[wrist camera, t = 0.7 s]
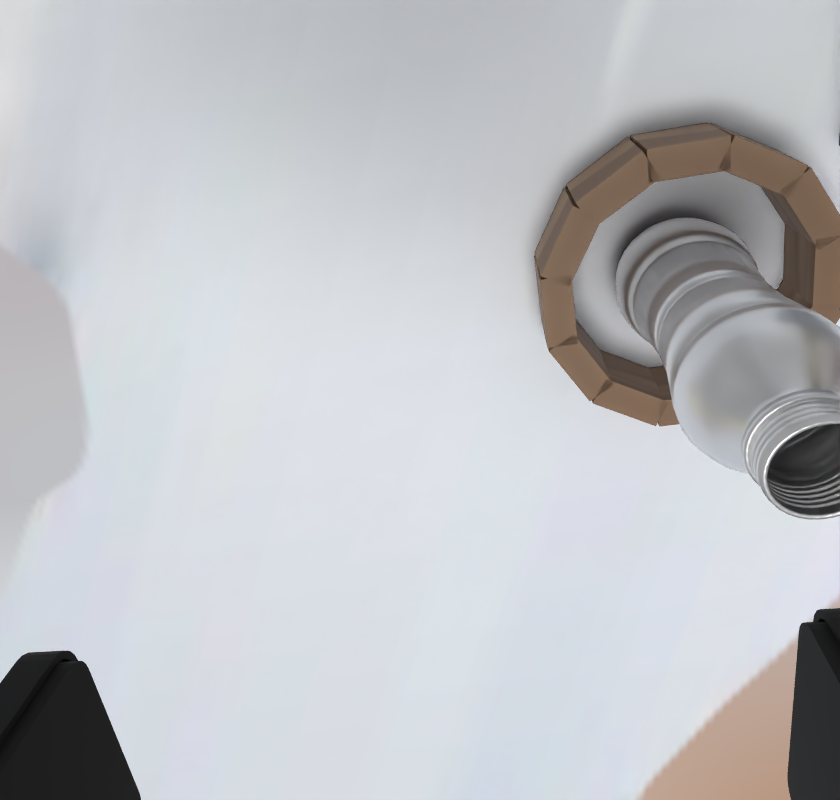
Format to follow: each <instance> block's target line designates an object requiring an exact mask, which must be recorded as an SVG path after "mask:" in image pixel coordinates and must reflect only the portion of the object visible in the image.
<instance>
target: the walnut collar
mask: <svg viewBox="0 0 840 800" xmlns="http://www.w3.org/2000/svg"><path fill="white" fill-rule="evenodd" d="M721 171H725V172H728V173H730V174H733V175H735V176H738V177H740V178H743V179H745V180H748V181H750V182H753V183H755V184H757V185H760V186H761V187H762V189H763V190H764V192H765V193H766V195H767V196H768V198H769V200H770V201H771V203H772V204H773V206H774V207H775V209H776V210H777V212H778V214H779V215H780V217H781V218H782V220H783V221H784V223H785V244H784V275H783V281H782V283H781V285H780V286H779V288H778V289H777V291H778V292H780V293H781V294H782V295H784V296H785V297H787V298H789V299H791V300H793V301H795V302H797V303H799V304H801V305H803V306H805V307H807V308H809V309H811V310H813V311H815V312H817V313H819V314H820V315H822V316H824V317H825V318H827V319H829V320H830V321H831V322H833V323H834V324H836V323H837V321H838V320H839V318H840V214H839V213H838V211H837V209H836V208H835V206H834V204H833V203H832V201H831V200H830V198H829V196H828V195H827V193H826V191H825V190H824V188H823V186H822V185H821V183H820V182H819V180H818V178H817V177H816V175H815V173H814V172H813V170H812V168H810V167H808V165H806V164H804V163H802V162H800V161H798V160H796V159H794V158H792V157H790V156H788V155H786V154H784V153H782V152H780V151H778V150H775V149H773V148H770V147H768V146H766V145H763V144H761V143H758V142H756V141H753V140H751V139H748V138H746V137H744V136H741V135H739V134H736V133H734V132H731V131H729V130H726V129H724V128H722V127H719V126H717V125H714V124H712V123H711V124H708V123H702V124H696V125H690V126H684V127H678V128H672V129H666V130H660V131H654V132H648V133H642V134H636V135H631V140H630V139H628V138H625V139H624V140H623V141H621V142H620V143H619V144H618V145H616V146H615V147H614V148H612V149H611V150H610V151H609V152H607V153H606V154H605V155H603V156H602V157H601V158H600V159H598V160H597V161H596V162H594V163H593V164H592V165H591V166H589V167H588V168H587V169H585V170H584V171H583V172H582V173H580V174H579V175H578V176H576V177H575V178H574V179H573V180H571V181H570V182H569V183H567V184H566V185H567V187H568V189H566V188H563V190H562V193H561V195H560V197H559V199H558V202H557V204H556V206H555V208H554V211H553V213H552V215H551V217H550V219H549V222H548V224H547V226H546V228H545V231H544V233H543V235H542V237H541V240H540V242H539V244H538V246H537V249H536V251H535V255H536V256H534V258H535V267H536V276H537V285H538V294H539V303H540V311H541V320H542V324H543V329H544V334H545V338H546V343H547V348H548V349H549V352H550V353H551V354H552V356H553V357H554V358H555V359H556V360H557V362H558V363H559V364H560V365H561V367H562V368H563V369H564V370H565V371H566V373H567V374H568V375H569V376H570V378H571V379H572V380H573V381H574V382H575V384H576V385H577V386H578V387H579V389H580V390H581V391H582V392H583V393H584V395H585V396H586V397H587V398H588V400H589V401H591V400H592V402H593V404H596V405H599V406H602V407H604V408H607V409H610V410H613V411H616V412H618V413H621V414H624V415H627V416H629V417H632V418H635V419H638V420H640V421H643V422H646V423H649V424H651V425H654V426H656V425H657V423H658V424H659V426H667V425H676V424H679V421H678V419H677V416H676V413H675V410H674V408H673V403H672V398H671V392H670V387H669V382H668V377H667V372H666V369H665V367H664V366H661V367H653V368H647V367H645V366H642V365H639V364H636V363H634V362H631V361H628V360H626V359H623V358H620V357H618V356H615V355H612V354H609V353H607V352H604V351H601V350H599V348H598V347H597V346H596V344H595V343H594V342H593V341H592V339H591V338H590V337H589V336H588V334H587V333H586V332H585V331H584V329H583V328H582V327H581V325H580V324H579V323H578V322H577V320H576V319H575V310H574V299H573V288H572V280H573V278H574V276H575V274H576V272H577V270H578V267H579V265H580V263H581V261H582V259H583V257H584V255H585V253H586V251H587V249H588V247H589V244H590V242H591V240H592V238H593V236H594V234H595V232H596V230H597V228H598V226H599V224H600V223H601V222H602V221H604V220H605V219H606V218H608V217H609V216H610V215H612V214H613V213H614V212H616V211H617V210H618V209H620V208H621V207H622V206H624V205H625V204H626V203H628V202H629V201H630V200H632V199H633V198H634V197H636V196H637V195H638V194H640V193H641V192H643V191H644V190H645V189H647V188H648V187H649V186H651V185H652V184H653V183H655V182H658V181H664V180H671V179H677V178H683V177H689V176H696V175H702V174H708V173H714V172H721Z"/></svg>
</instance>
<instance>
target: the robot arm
mask: <svg viewBox="0 0 840 800" xmlns="http://www.w3.org/2000/svg"><path fill="white" fill-rule="evenodd" d="M788 787H789V793H790V797H791V800H840V608H837V609H820V610H817V611H816V613H815V615H814V620H813V622H806V623H802V624H801V625H800V629H799V638H798V650H797V663H796V676H795V688H794V701H793V714H792V726H791V739H790V751H789V764H788ZM0 800H141V797H140V794H139V791H138V788H137V786H136V783H135V781H134V779H133V776H132V774H131V771H130V769H129V766H128V764H127V761H126V759H125V757H124V754H123V752H122V749H121V747H120V744H119V742H118V739H117V737H116V735H115V732H114V730H113V727H112V725H111V722H110V720H109V717H108V715H107V712H106V710H105V708H104V705H103V703H102V700H101V698H100V695H99V693H98V690H97V688H96V686H95V683H94V681H93V678H92V676H91V673H90V671H89V668H88V667H87V665H86V664H85V663H84V662H83V661H78V660H77V658H76V656H75V655H74V654H73V653H72V652H70V651H51V652H32V653H27V654H25V655H22V656H21V657H20V658H19V659H18V660H17V662H16V663H15V664H14V666H13V667H12V668H11V670H10V671H9V672H8V674H7V675H6V676H5V678H4V679H3V680H2V682H1V683H0Z"/></svg>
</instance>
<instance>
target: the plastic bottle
mask: <svg viewBox="0 0 840 800" xmlns="http://www.w3.org/2000/svg"><path fill="white" fill-rule="evenodd" d="M616 297H617V302H618V306H619V308H620V311H621V313H622V315H623V317H624V318H625V320H626V321H627V322H628V324H629V325H630V326H631V327H632V328H633V329H634V330H635V331H636V332H637V333H638V334H639V335H640V336H642V337H643V338H644V339H645V340H646V341H648V342H649V343H650V344H651V345H652V346H653V347H654V348H655V350H656V351H657V352H658V353H659V355H660V357H661V360H662V362H663V365H664V367H665V369H666V372H667V377H668V382H669V387H670V392H671V398H672V403H673V408H674V410H675V413H676V416H677V419H678V421H679V424H680V426H681V428H682V431H683V432H684V434H685V435H686V436H687V438H688V439H689V440H690V442H691V443H692V444H693V445H694V446H696V447H697V448H698V449H699V450H700V451H701V452H703V453H704V454H705V455H707V456H708V457H710V458H711V459H713V460H714V461H716V462H718V463H720V464H721V465H723V466H725V467H727V468H730V469H733V470H736V471H739V472H742V473H749V474H750V476H751V477H752V478H753V480H754V481H755V482H756V483H757V484H758V485H759V486H760V487H761V489H762V491H763V493H764V494H765V496H766V497H767V498H768V500H769V501H770V502H771V503H772V504H773V505H775V506H776V507H777V508H778V509H779V510H781V511H783V512H785V513H787V514H789V515H792V516H795V517H798V518H804V519H827V518H833V517H837V516H840V327H839V326H837V325H836V324H834V323H833V322H831V321H830V320H829V319H827V318H825V317H824V316H822V315H820V314H819V313H817V312H815V311H813V310H811V309H809V308H807V307H805V306H803V305H801V304H799V303H797V302H795V301H793V300H791V299H789V298H787V297H785V296H784V295H782V294H781V293H780V292H778V291H777V290H776V289H774V288H772V287H771V286H770V285H769V284H768V283H767V282H766V281H765V280H764V278H763V277H762V275H761V274H760V273H759V271H758V268H757V265H756V262H755V260H754V259H753V257H752V255H751V253H750V252H749V250H748V249H747V247H746V245H745V244H744V242H743V241H742V240H741V239H740V238H739V237H738V236H737V235H736V234H735V233H734V232H732V231H730V230H729V229H727V228H725V227H724V226H721V225H718V224H716V223H713V222H710V221H706V220H703V219H697V218H690V217H687V218H674V219H670V220H665V221H662V222H660V223H658V224H655V225H653V226H651V227H649V228H648V229H646V230H645V231H643V232H642V233H640V234H639V235H638V236H637V237H636V238H635V239H634V240H633V241H632V242H631V243H630V244H629V246H628V247H627V248H626V250H625V251H624V253H623V255H622V257H621V259H620V261H619V264H618V268H617V272H616Z"/></svg>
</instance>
